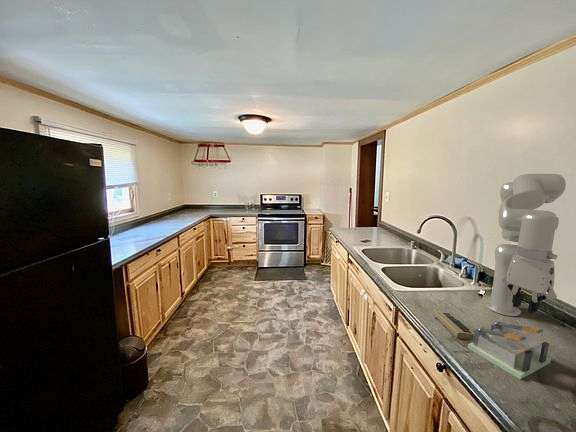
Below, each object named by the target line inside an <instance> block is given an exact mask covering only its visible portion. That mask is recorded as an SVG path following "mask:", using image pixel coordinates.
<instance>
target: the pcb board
mask: <svg viewBox="0 0 576 432" xmlns="http://www.w3.org/2000/svg"><path fill="white" fill-rule="evenodd" d="M467 349H469V350H470V351H472V352H473V353H475V354H477V355H479V356H481V358H484V359H485V360H487V361H488V362H491V363H492V364H493V365H495V366H497V367H498V368H501V370H503V371H505V372H506V373H509V374H510V375H512V376H514V377H515V378H517V379H519V380H522V379H523V378H526V377H527V376H529V375H531V374H533V373H535V372H537V371H538V370H540V369H542V368H544V367H545V366H547V365H550V364H551V361H552V358H550V357H548V356H547V358H546V361H545V362H543V363H541V362H539V359H540V355H539V356H537V357H535V358H533V359H531V364H530V369H529V370H528V371H526V372H524V371H522V368H523V364H522V365H520V366H518V367H516V368H514V369H513V368H511V367H509V366H508V365H506V364H504V363H502V362H501V361H499V360H497V359H495V358H494V357H492V356H490V355H489V354H487V353H485V352H483V351H482V350H480V349H478V348H477V346H475V345H473V342H470V343H468V344H467Z"/></svg>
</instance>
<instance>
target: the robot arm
mask: <svg viewBox="0 0 576 432" xmlns="http://www.w3.org/2000/svg"><path fill="white" fill-rule="evenodd" d="M566 185H567V184H566V179H565V178H564V177H563V176H562V175H561V174H558V173H524V174H520V175H518V176H516V177H515V178H514V179H513V181H512V182H506V183H504V184H502V185H501V186H500V190H499V194H500V200H501V204H500V206H499V209H498V224H499V227H500V228H501V237H502V238H503V240H504V241H508V242H513V243H517V244H512V243H511V244H510V243H501V244H498V245H497V246H496V247H495V249H494V261H495V262H494V273H493V274H494V275H493V279H492V280H493V282H492V287H491V288H492V289H491V295H490V300H488V301H486V302H485V306H486V308H488V309H489V310H490V311H492V312H494V313H497V314H500V315H504V316H508V317H519V316H520V315H521V313H522V311H521V310H520V309H519V308H518V307H521V305H522V298H523V294H522V293H521V292H522V289H524V290H527V291H529V292H531V293H532V294H531V298H532V299H531V300H530V301H528V302H529V303H528V309H527V313H528V314H530V315H532V314H534V313H536V312H538V310H539V305H540V302H542V301H545V300H555V299H557V298H558V296H557V293H556V291H555V290H554V286H555V276H556V275H555V271H556V270H555V261H554V260H557V259H558V254H555V253H553V245H554V239H555V233H556V230H558V227H559V223H560V222H559V219H560V218H559V217H558V216H557V214H556V213H554V212H553V211H549V210H540V209H539V210H538V208H540V207H541V206H544V204H551V203H554V202H555V201H556V200H557V199H559V198H560V197H561V196H562V195H563V194H564V192H565V190H566Z"/></svg>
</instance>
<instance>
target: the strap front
mask: <svg viewBox="0 0 576 432" xmlns="http://www.w3.org/2000/svg"><path fill="white" fill-rule="evenodd" d="M477 331H479V332H482V333H487V334H492V335H496V336H501V337H505V338H510V339H515V340H519V341H523V340H525V339H526V337H524V336H519V335H514V334H509V333H503V332H498V331H492V330H491V329H486V328H485V329H484V327H481V328H479V329H477Z"/></svg>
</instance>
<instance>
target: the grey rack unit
mask: <svg viewBox="0 0 576 432" xmlns="http://www.w3.org/2000/svg"><path fill="white" fill-rule="evenodd" d="M499 322H500V323H502V322H501V321H499ZM483 328H484V327H483ZM484 329H486V328H484ZM490 330H492V331H498V332H503V333H509V334H514V335H519V336H524V337H526V339H525V340H523V341H519V340H515V339H510V338H505V337H501V336H496V335H492V334H487V333H482V332H479V331H478V329H477V330H476V329H475V330H474V331H473V332H474V338H472V340H473V345H475V346H477V348H478V349H480V350H482V351H483V352H485V353H487V354H489V355H490V356H492V357H494V358H495V359H497V360H499V361H501V362H502V363H504V364H506V365H508V366H509V367H511V368H513V369H514V368H516V367H518V366H520V365H522V364H523V368H522V371H524V372H526V371H528V370H529V369H530V364H531V359H533V358H535V357H537V356H539V355H540V359H539V362H541V363H543V362H545V361H546V358H547V357H548V352H549V346H550V343H548V342H547V341H544V342H543V341H541V340H538V339H535V338H534V337H532V336H529V335H527V334H525V333H523V332H521V331H518V329H512V328H507V327H501V326H496V325H494V323H491V325H490Z"/></svg>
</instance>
